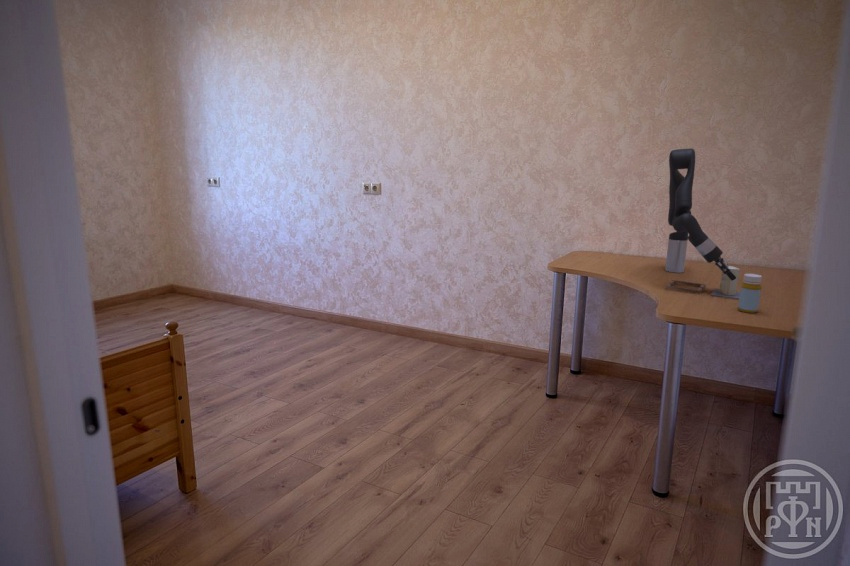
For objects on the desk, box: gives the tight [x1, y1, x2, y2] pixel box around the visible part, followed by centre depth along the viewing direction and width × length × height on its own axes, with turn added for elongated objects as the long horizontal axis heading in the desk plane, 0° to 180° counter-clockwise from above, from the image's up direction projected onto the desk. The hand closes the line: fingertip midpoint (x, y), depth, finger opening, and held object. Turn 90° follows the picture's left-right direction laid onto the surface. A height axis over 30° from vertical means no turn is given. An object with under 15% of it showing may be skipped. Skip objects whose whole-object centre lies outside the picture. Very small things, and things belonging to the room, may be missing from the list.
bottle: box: [737, 273, 763, 314], centre depth 227 cm, size 7×7×15 cm
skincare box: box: [718, 265, 741, 295], centre depth 252 cm, size 6×4×12 cm
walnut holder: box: [664, 279, 706, 295], centre depth 264 cm, size 15×15×2 cm
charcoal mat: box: [710, 288, 741, 301], centre depth 254 cm, size 13×12×1 cm
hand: (733, 277), depth 251 cm, fingers open, 8 cm apart
